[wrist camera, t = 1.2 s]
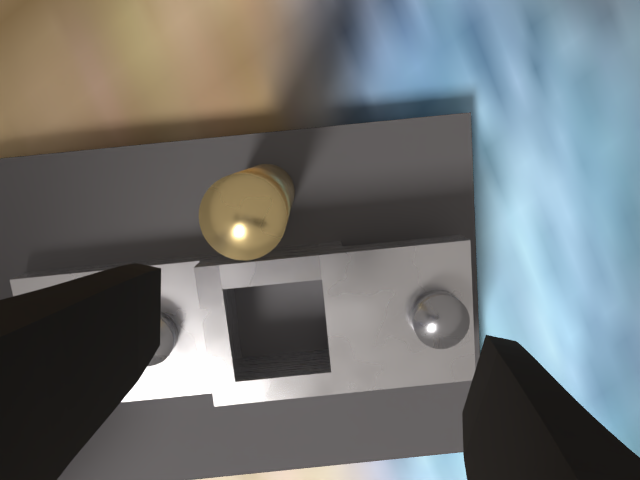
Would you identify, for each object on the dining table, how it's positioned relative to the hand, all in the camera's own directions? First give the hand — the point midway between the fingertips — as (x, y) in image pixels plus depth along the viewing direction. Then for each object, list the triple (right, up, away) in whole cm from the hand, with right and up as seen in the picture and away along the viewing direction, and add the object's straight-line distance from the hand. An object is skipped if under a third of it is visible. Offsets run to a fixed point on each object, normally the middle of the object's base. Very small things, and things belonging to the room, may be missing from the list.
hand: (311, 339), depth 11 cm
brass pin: (-2, +4, +11) cm, 12 cm away
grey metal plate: (-3, -1, +12) cm, 12 cm away
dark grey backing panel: (-4, -1, +13) cm, 13 cm away
